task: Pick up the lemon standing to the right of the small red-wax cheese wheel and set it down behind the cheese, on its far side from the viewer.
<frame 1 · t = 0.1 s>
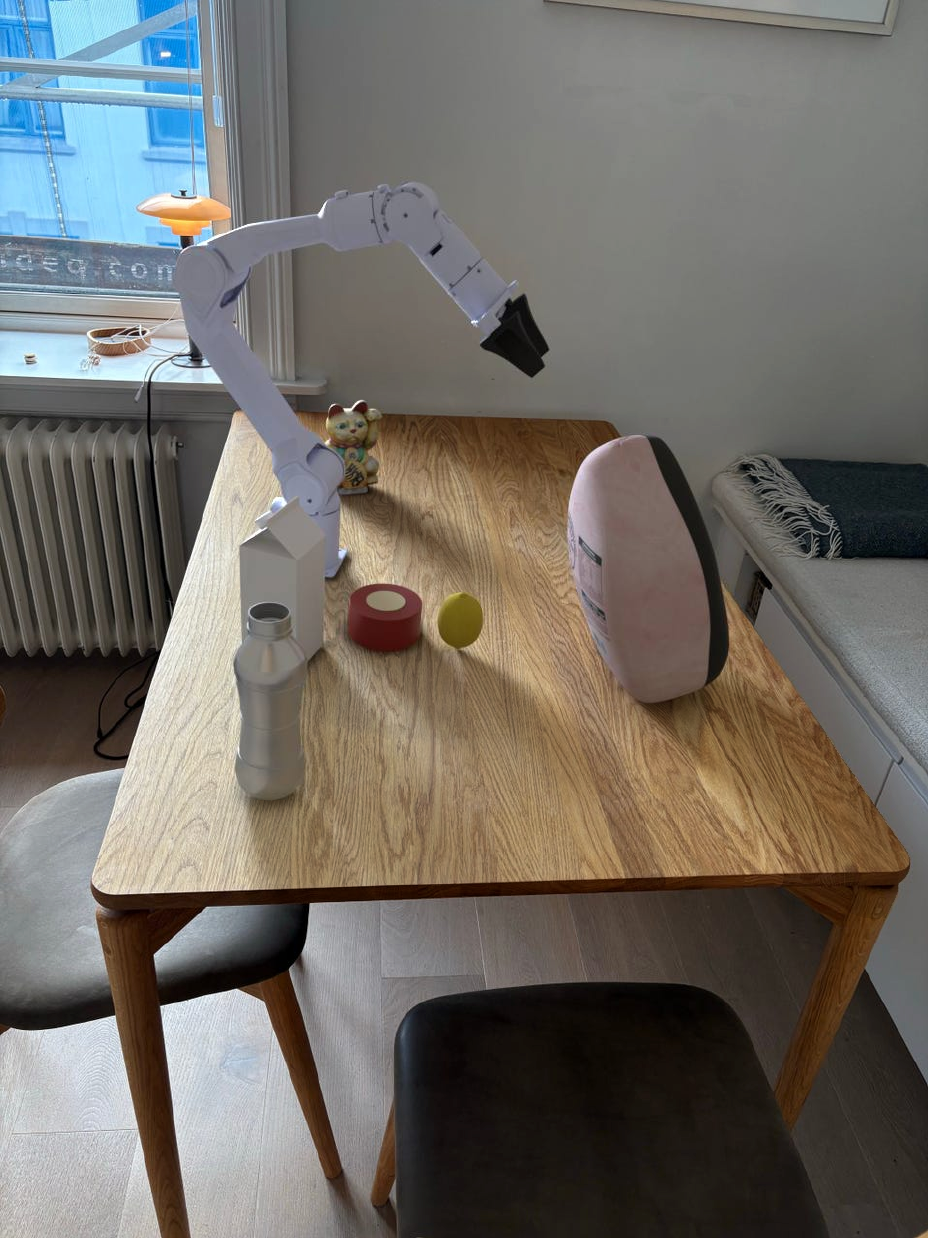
hand: (541, 363, 114), 32 cm above the table, tool tilted 50°, fingers open, 7 cm apart
milk carton: (283, 653, 113), on the table
lemon: (457, 649, 118), on the table
decorative figurine: (346, 487, 156), on the table
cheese: (383, 632, 119), on the table
pink backpack: (625, 672, 117), on the table
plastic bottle: (270, 788, 93), on the table
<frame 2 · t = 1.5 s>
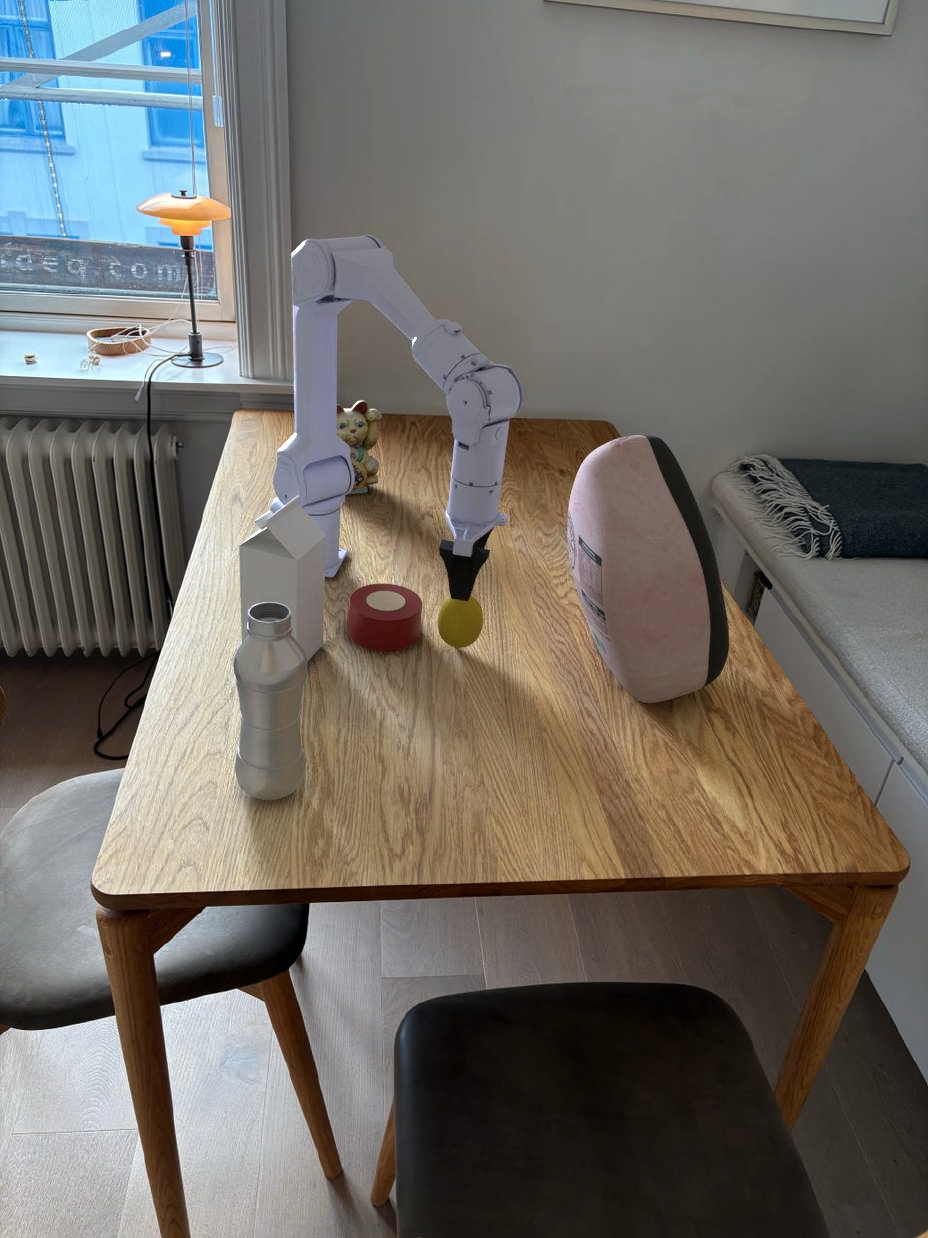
hand: (464, 583, 113), 9 cm above the table, tool pointing down, fingers open, 7 cm apart
nothing on the table moved.
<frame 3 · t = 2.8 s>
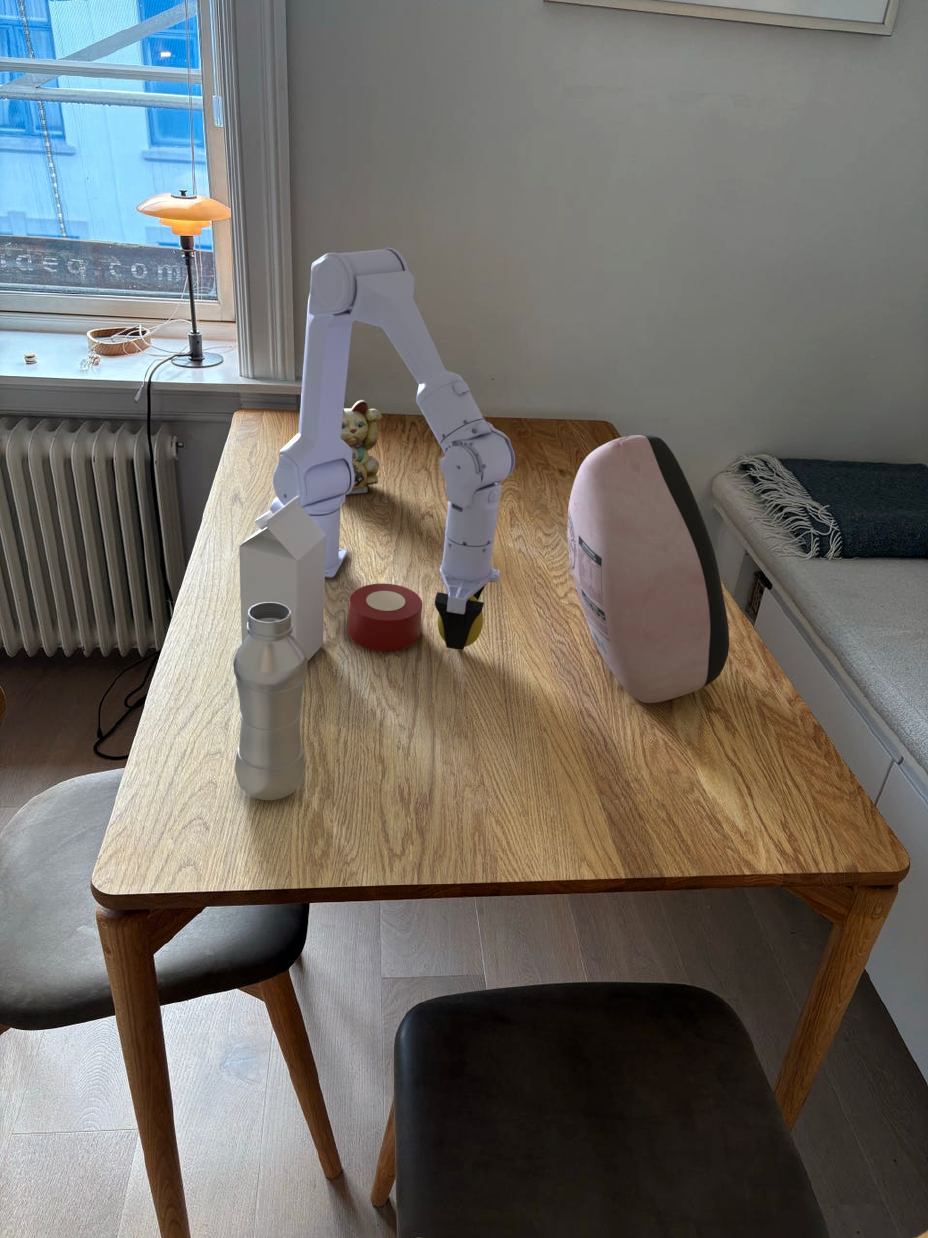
hand: (458, 634, 117), 2 cm above the table, tool pointing down, fingers closed on lemon, 5 cm apart
lemon: (457, 649, 118), on the table, touching gripper
everything else where it was.
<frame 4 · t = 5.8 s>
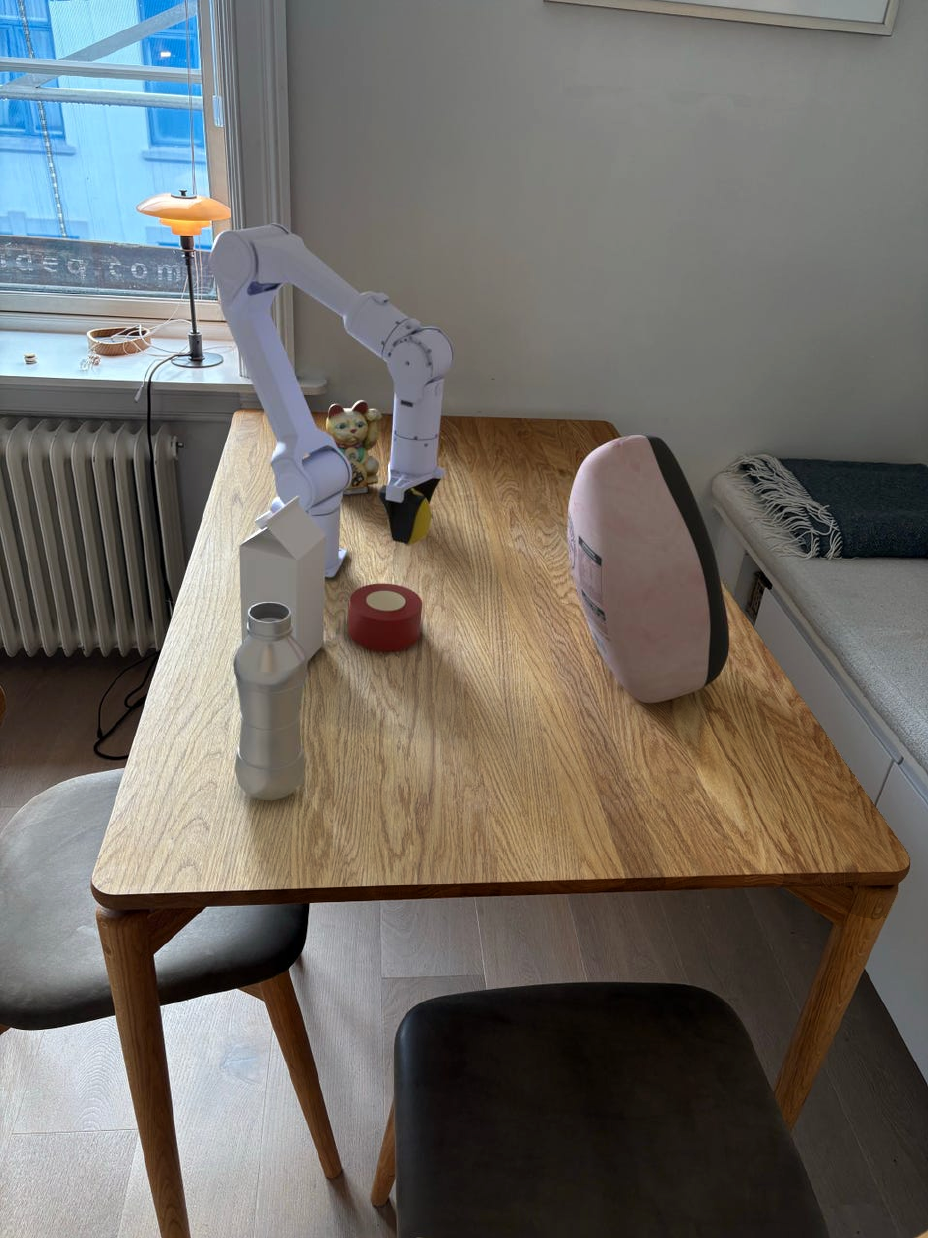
hand: (408, 531, 123), 9 cm above the table, tool pointing down, fingers closed on lemon, 5 cm apart
lemon: (407, 546, 124), point 7 cm above the table, touching gripper
everything else where it was.
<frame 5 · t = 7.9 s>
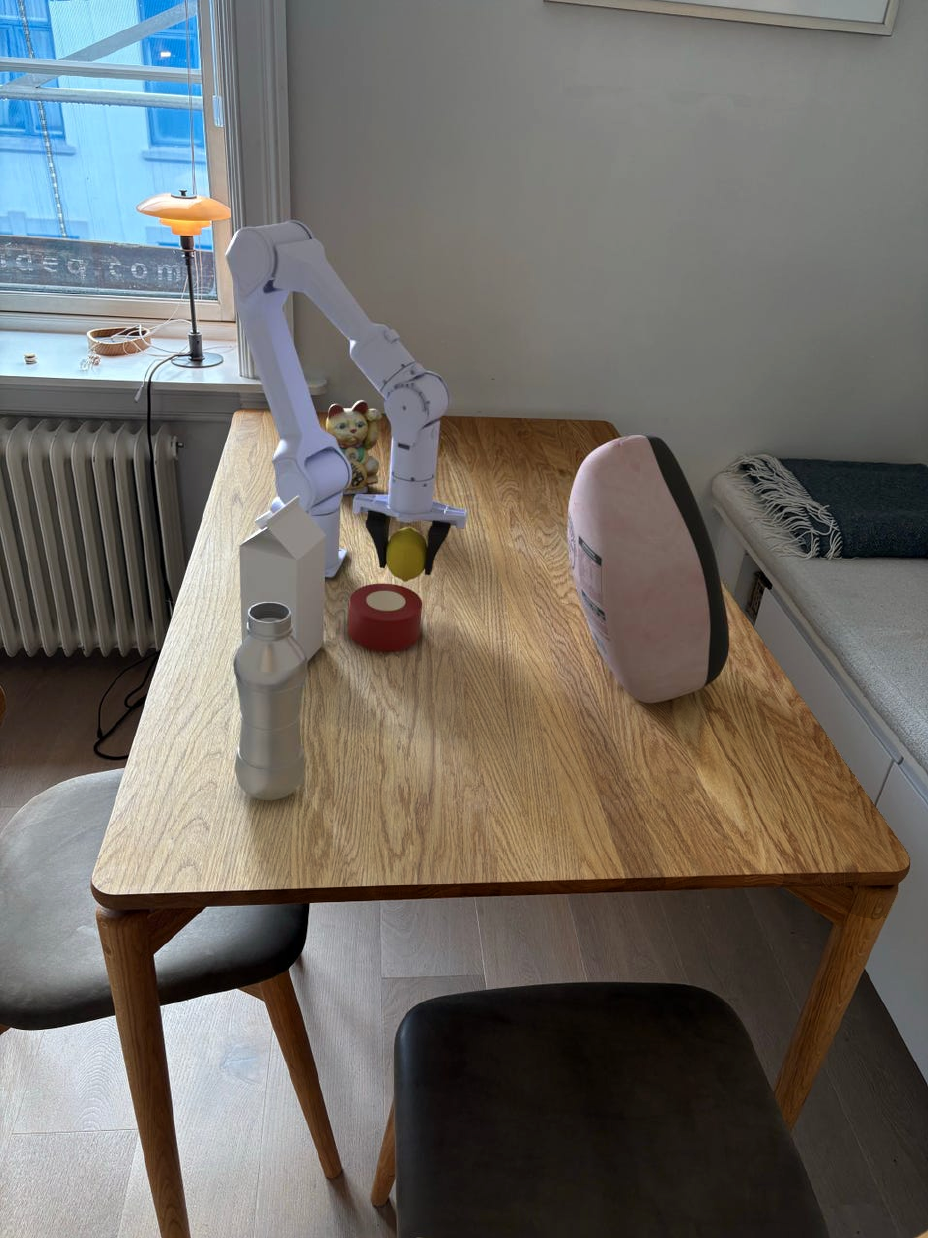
hand: (405, 568, 126), 4 cm above the table, tool pointing down, fingers closed on lemon, 5 cm apart
lemon: (405, 582, 127), point 2 cm above the table, touching gripper
everything else where it was.
when the fingers open (2 cm above the table, at t = 9.1 s): lemon stays where it is, on the table.
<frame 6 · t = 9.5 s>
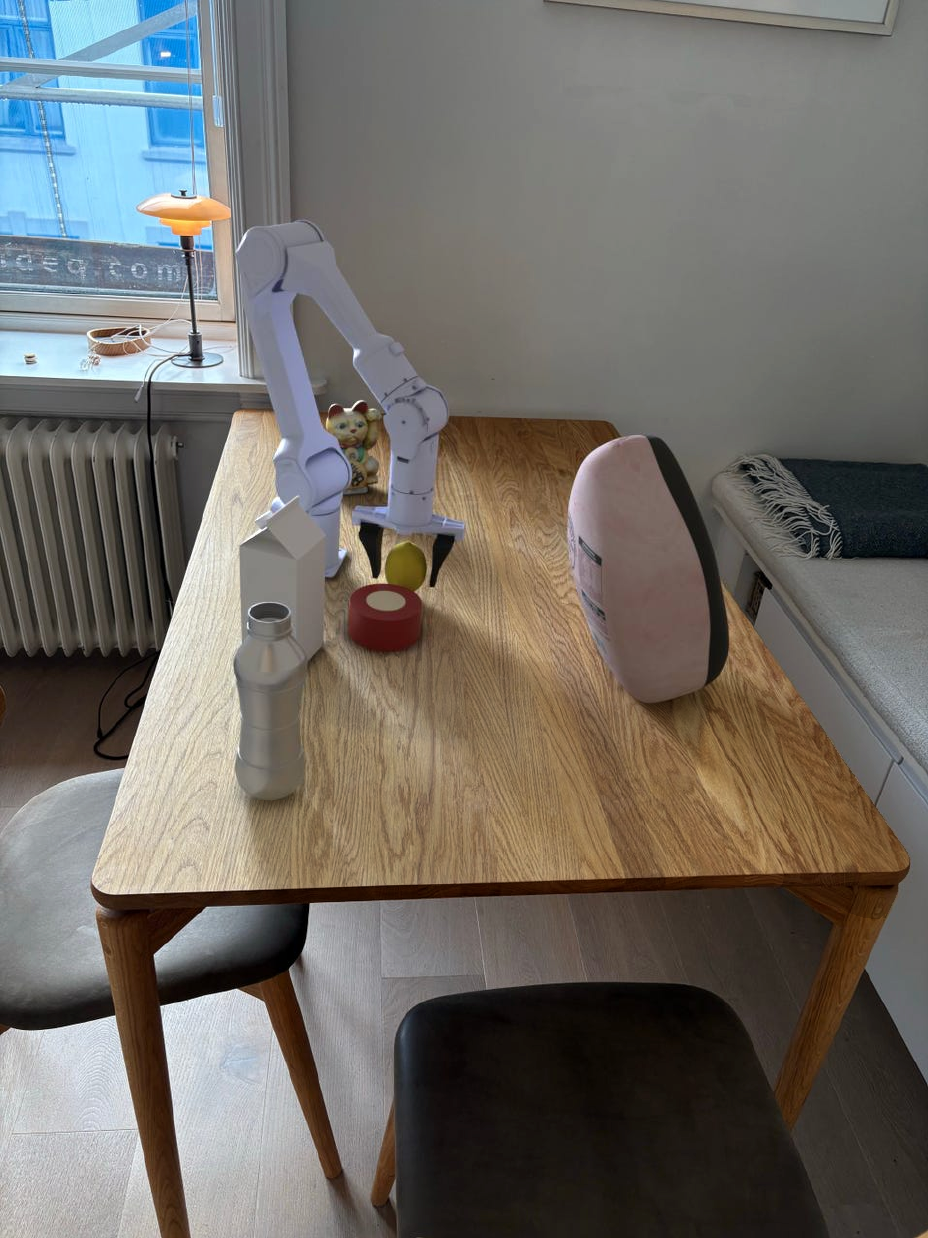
hand: (404, 579, 127), 2 cm above the table, tool pointing down, fingers open, 7 cm apart
lemon: (403, 596, 128), on the table
everything else where it was.
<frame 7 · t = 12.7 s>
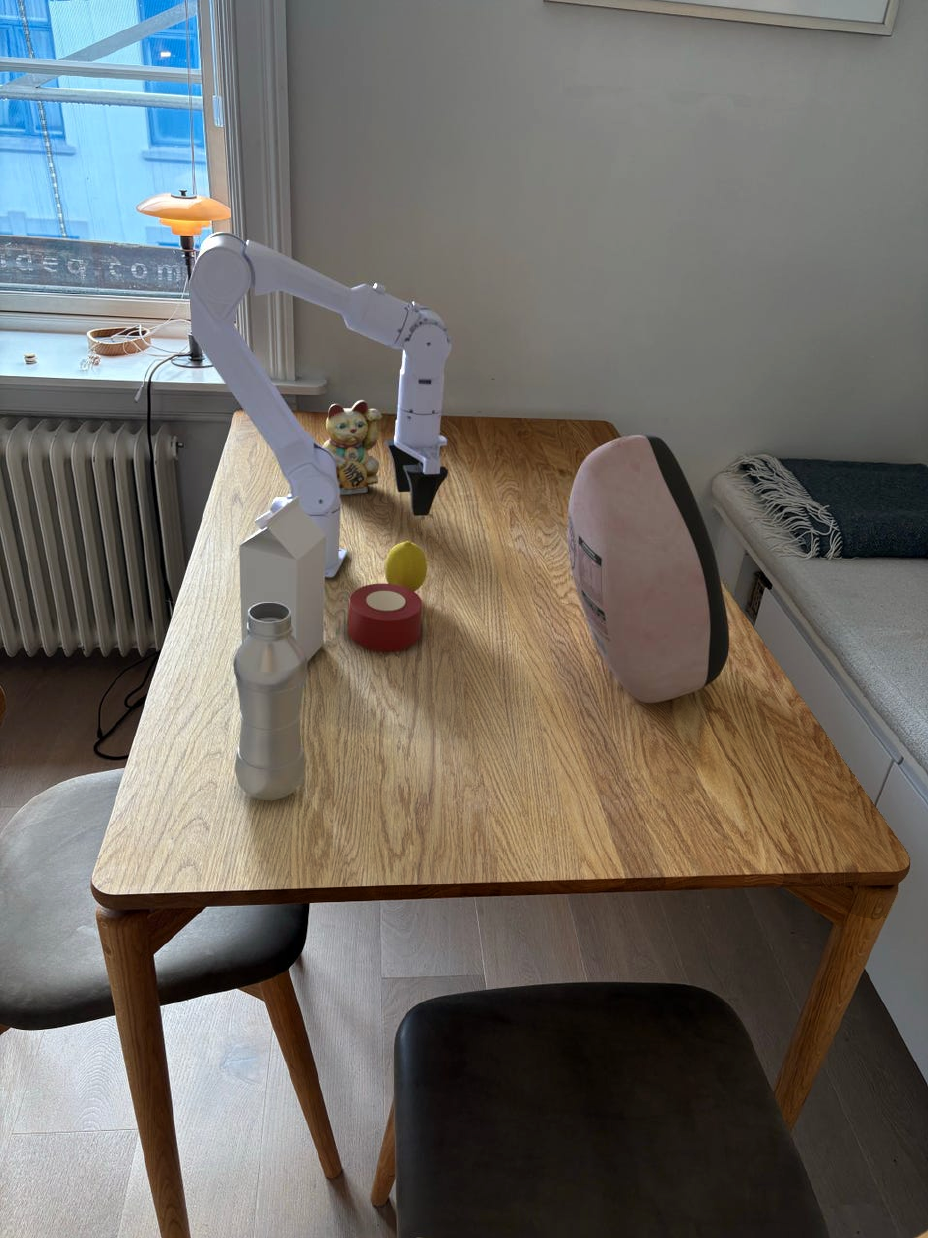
hand: (412, 502, 131), 9 cm above the table, tool pointing down, fingers open, 7 cm apart
nothing on the table moved.
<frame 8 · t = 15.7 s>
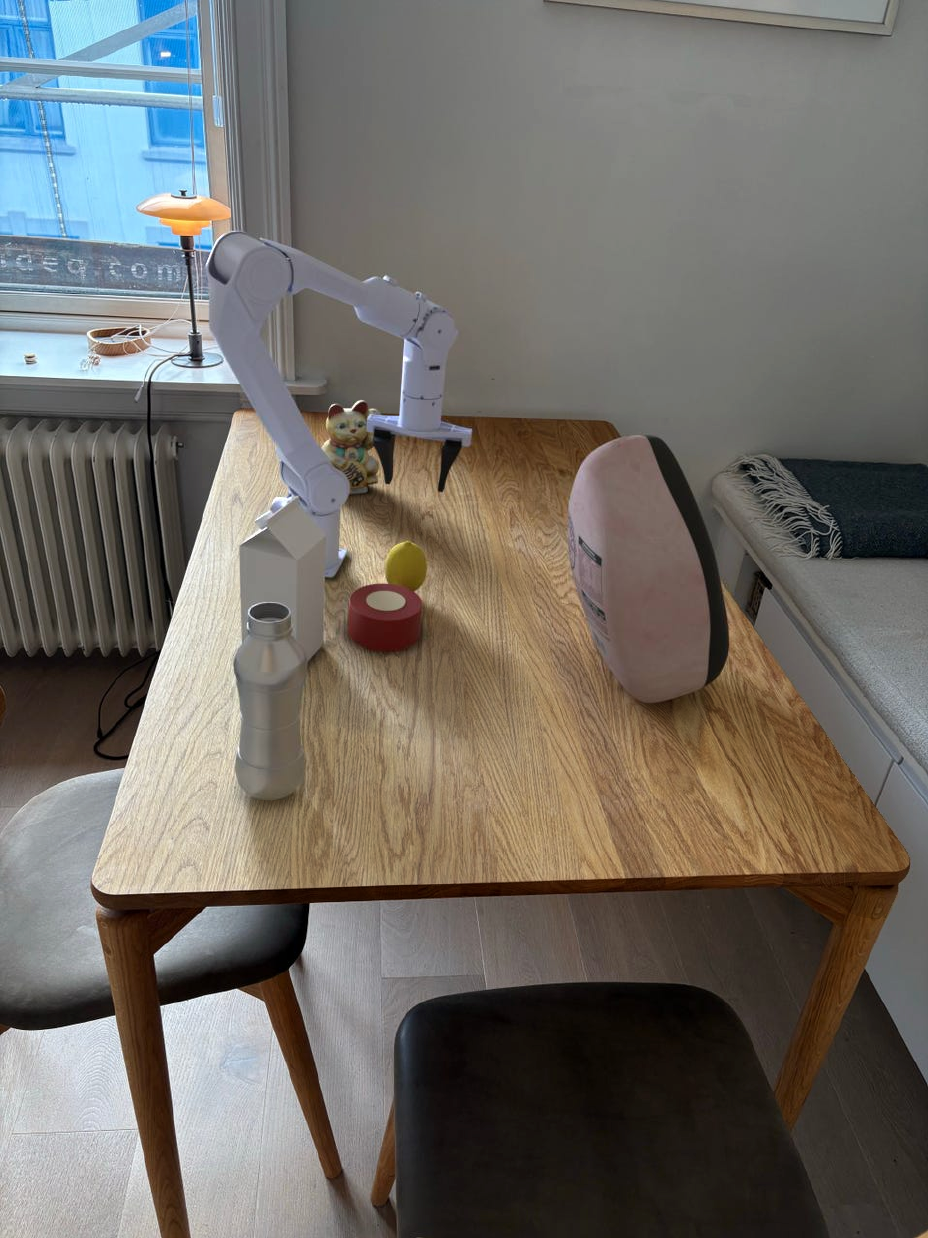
hand: (414, 485, 136), 9 cm above the table, tool pointing down, fingers open, 7 cm apart
nothing on the table moved.
at the end: lemon inside the target area on the table beside the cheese (1.7 cm from its centre), on the table; the gripper is holding nothing; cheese moved 0.0 cm from its start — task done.
